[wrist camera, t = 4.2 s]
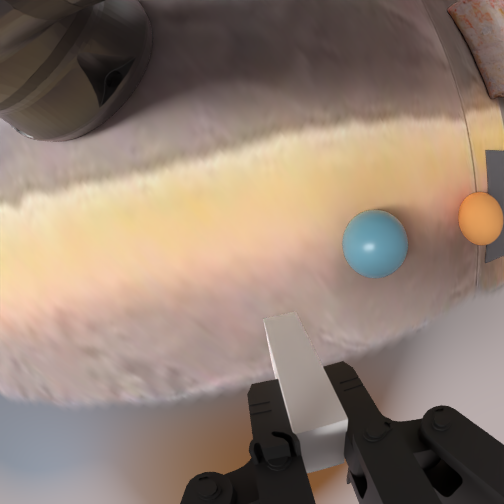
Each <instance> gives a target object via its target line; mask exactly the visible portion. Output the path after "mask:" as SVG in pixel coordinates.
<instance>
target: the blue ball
mask: <svg viewBox="0 0 504 504" xmlns="http://www.w3.org/2000/svg"><path fill="white" fill-rule="evenodd" d="M342 246H343V252H344V256H345V258H346V260H347V262H348V264H349V265H350V266H351V267H352V268H353V269H354V270H355V271H356V272H357V273H359V274H360V275H363V276H365V277H369V278H382V277H386V276H388V275H390V274H392V273H393V272H395V271H396V270H397V269H398V268H399V267H400V266H401V264H402V263H403V261H404V259H405V257H406V254H407V250H408V239H407V234H406V231H405V229H404V227H403V225H402V224H401V222H400V221H399V220H398V219H397V218H396V217H395V216H393V215H392V214H390V213H388V212H386V211H382V210H368V211H364V212H362V213H360V214H358V215H357V216H355V217H354V218H353V219H352V220H351V221H350V223H349V224H348V226H347V227H346V229H345V232H344V235H343V242H342Z"/></svg>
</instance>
